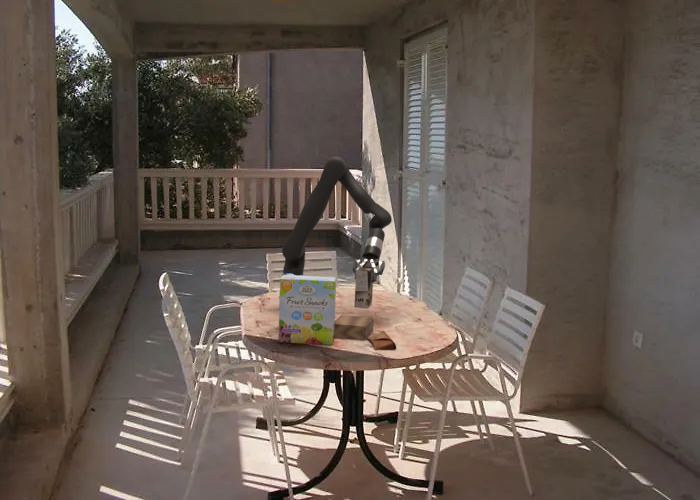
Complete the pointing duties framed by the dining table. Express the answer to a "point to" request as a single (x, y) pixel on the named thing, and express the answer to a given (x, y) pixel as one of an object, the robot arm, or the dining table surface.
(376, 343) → the sunglasses case
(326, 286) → the snack box
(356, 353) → the dining table surface
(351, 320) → the walnut block
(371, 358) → the dining table surface
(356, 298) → the coffee box
